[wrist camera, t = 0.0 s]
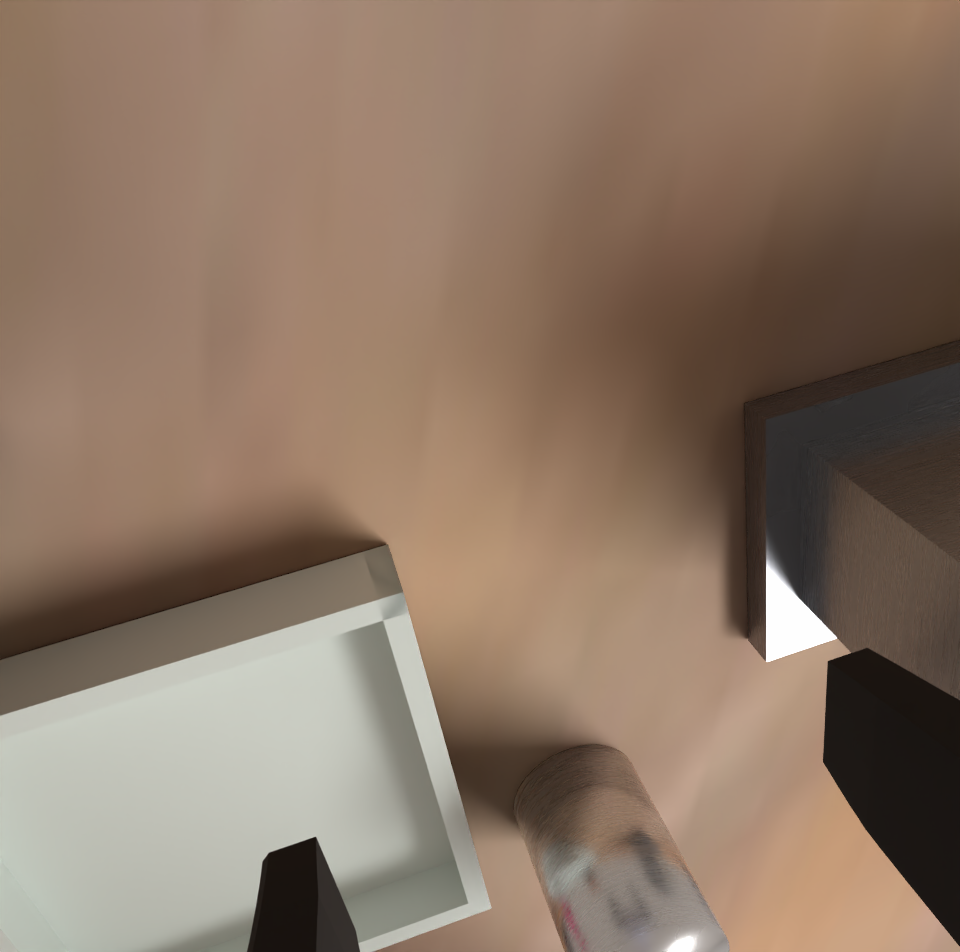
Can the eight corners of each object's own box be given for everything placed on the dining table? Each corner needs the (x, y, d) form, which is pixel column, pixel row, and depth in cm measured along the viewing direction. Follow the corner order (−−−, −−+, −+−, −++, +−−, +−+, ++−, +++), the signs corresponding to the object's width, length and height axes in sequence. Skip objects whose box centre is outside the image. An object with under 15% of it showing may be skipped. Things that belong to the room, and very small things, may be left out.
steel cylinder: (639, 813, 28) (731, 990, 23) (523, 854, 28) (592, 1044, 23) (628, 728, 26) (727, 901, 21) (504, 770, 26) (575, 959, 21)
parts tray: (474, 851, 27) (491, 908, 25) (84, 989, 26) (75, 1060, 24) (388, 544, 21) (403, 592, 19) (-133, 699, 19) (-166, 766, 18)
